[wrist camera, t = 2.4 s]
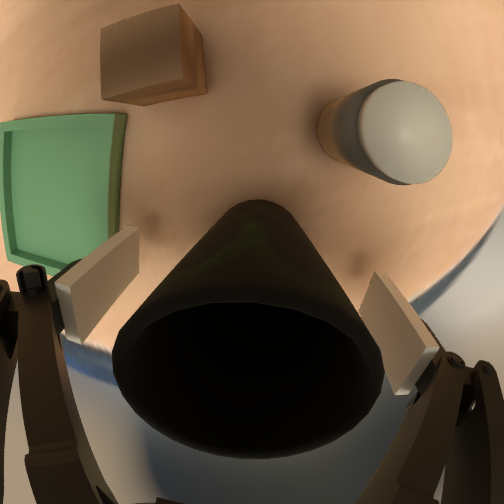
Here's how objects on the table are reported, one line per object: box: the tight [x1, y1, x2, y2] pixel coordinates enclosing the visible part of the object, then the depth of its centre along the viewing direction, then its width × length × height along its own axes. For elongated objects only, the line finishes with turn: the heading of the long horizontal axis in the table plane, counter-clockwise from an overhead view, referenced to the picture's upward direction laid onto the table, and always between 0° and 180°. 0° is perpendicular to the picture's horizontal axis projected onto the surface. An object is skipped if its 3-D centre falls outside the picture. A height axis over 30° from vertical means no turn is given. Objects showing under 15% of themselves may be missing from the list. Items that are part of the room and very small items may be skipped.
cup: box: [112, 200, 385, 459], centre depth 12 cm, size 8×8×12 cm
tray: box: [0, 113, 127, 276], centre depth 16 cm, size 12×12×2 cm
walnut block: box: [100, 4, 207, 106], centre depth 11 cm, size 4×4×5 cm
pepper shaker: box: [317, 79, 452, 185], centre depth 11 cm, size 4×4×8 cm
